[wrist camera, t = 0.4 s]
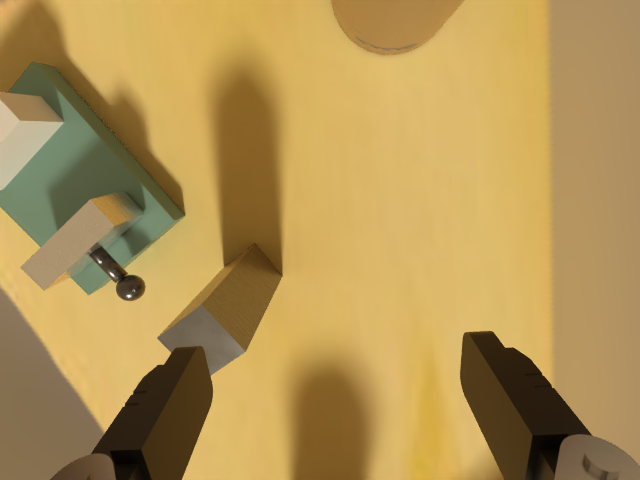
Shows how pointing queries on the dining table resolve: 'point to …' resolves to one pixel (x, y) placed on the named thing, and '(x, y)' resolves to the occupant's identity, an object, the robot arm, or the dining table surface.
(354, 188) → the dining table surface
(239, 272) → the steel bar
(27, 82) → the vise
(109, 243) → the vise jaw
